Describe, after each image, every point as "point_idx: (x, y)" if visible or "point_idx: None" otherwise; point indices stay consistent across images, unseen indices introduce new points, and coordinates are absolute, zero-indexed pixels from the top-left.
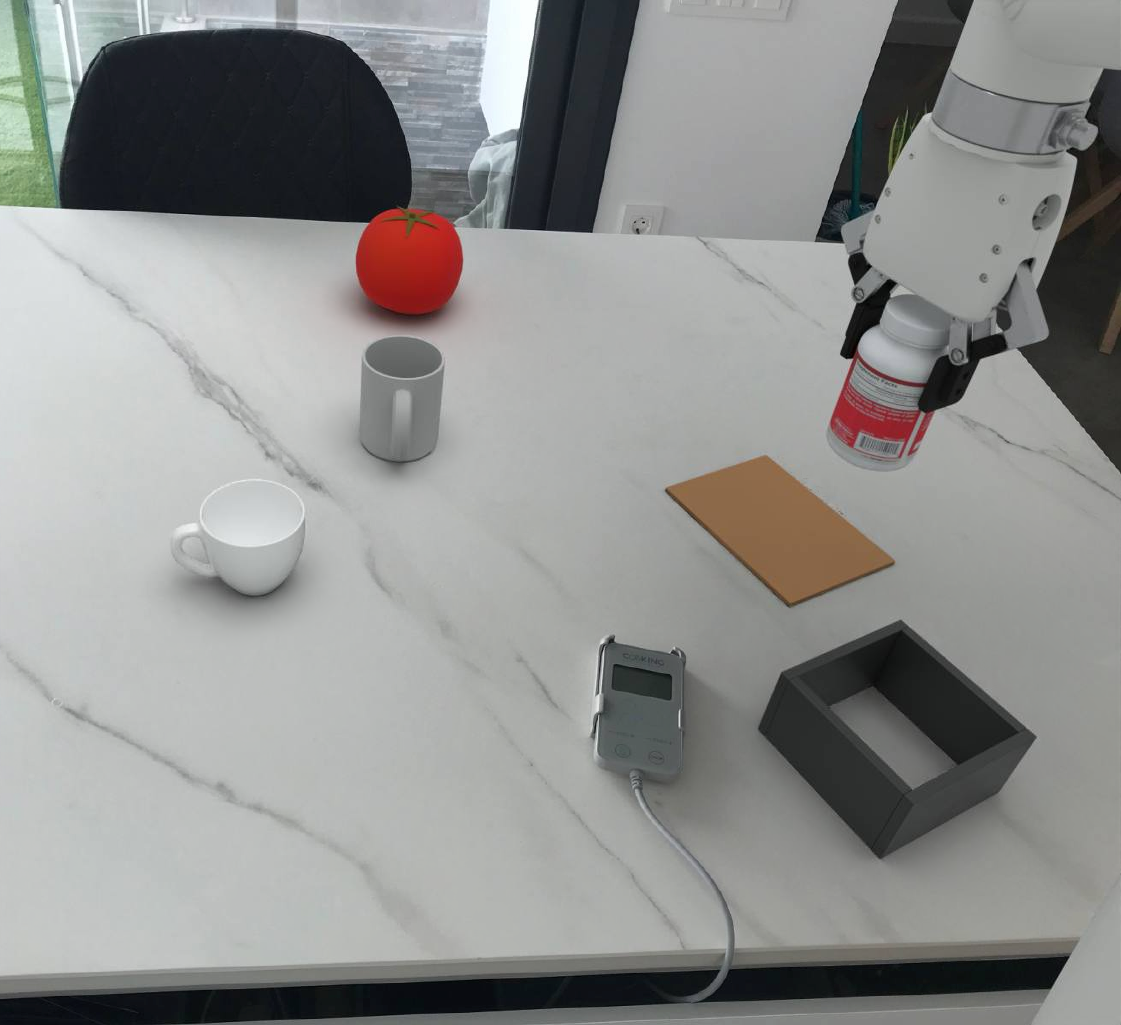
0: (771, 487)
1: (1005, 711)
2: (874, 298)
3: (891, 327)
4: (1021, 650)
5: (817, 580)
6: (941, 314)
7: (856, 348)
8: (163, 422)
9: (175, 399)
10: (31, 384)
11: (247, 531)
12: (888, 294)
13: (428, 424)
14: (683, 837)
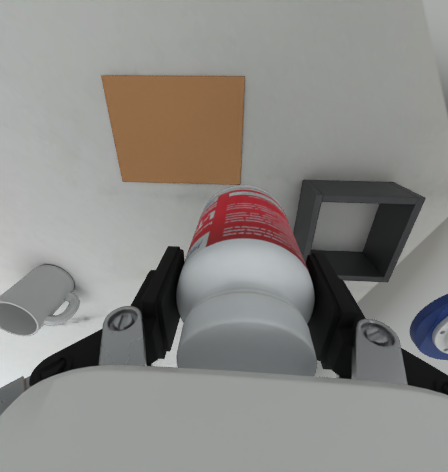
0: (140, 107)
1: (402, 199)
2: (155, 358)
3: None
4: (356, 57)
5: (233, 153)
6: (270, 356)
7: None
8: (35, 343)
9: (18, 336)
10: (7, 366)
11: None
12: (150, 337)
13: (57, 291)
14: None
